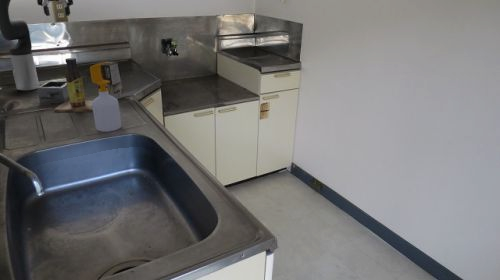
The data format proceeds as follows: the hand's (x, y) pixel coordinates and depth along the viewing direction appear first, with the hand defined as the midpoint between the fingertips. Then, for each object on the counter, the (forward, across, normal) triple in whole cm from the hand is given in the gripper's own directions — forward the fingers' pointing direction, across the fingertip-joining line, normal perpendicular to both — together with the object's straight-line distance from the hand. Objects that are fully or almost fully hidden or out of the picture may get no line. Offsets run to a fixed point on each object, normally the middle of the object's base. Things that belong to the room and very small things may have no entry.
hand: (57, 15), depth 168 cm
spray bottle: (+36, -30, +44) cm, 64 cm away
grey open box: (+36, +4, +9) cm, 37 cm away
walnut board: (+36, -10, +19) cm, 42 cm away
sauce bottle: (+35, -10, +19) cm, 41 cm away
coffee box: (+36, -20, +5) cm, 42 cm away
